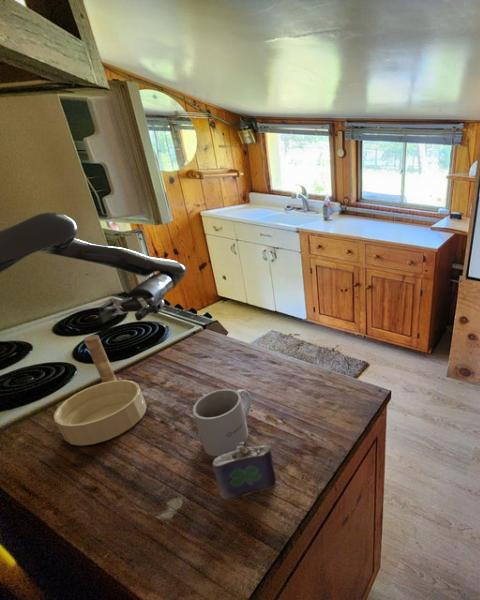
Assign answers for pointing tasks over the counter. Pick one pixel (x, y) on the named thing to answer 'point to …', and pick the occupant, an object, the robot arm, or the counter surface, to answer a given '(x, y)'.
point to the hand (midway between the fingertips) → (119, 318)
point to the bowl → (100, 412)
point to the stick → (100, 358)
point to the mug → (222, 420)
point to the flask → (244, 471)
